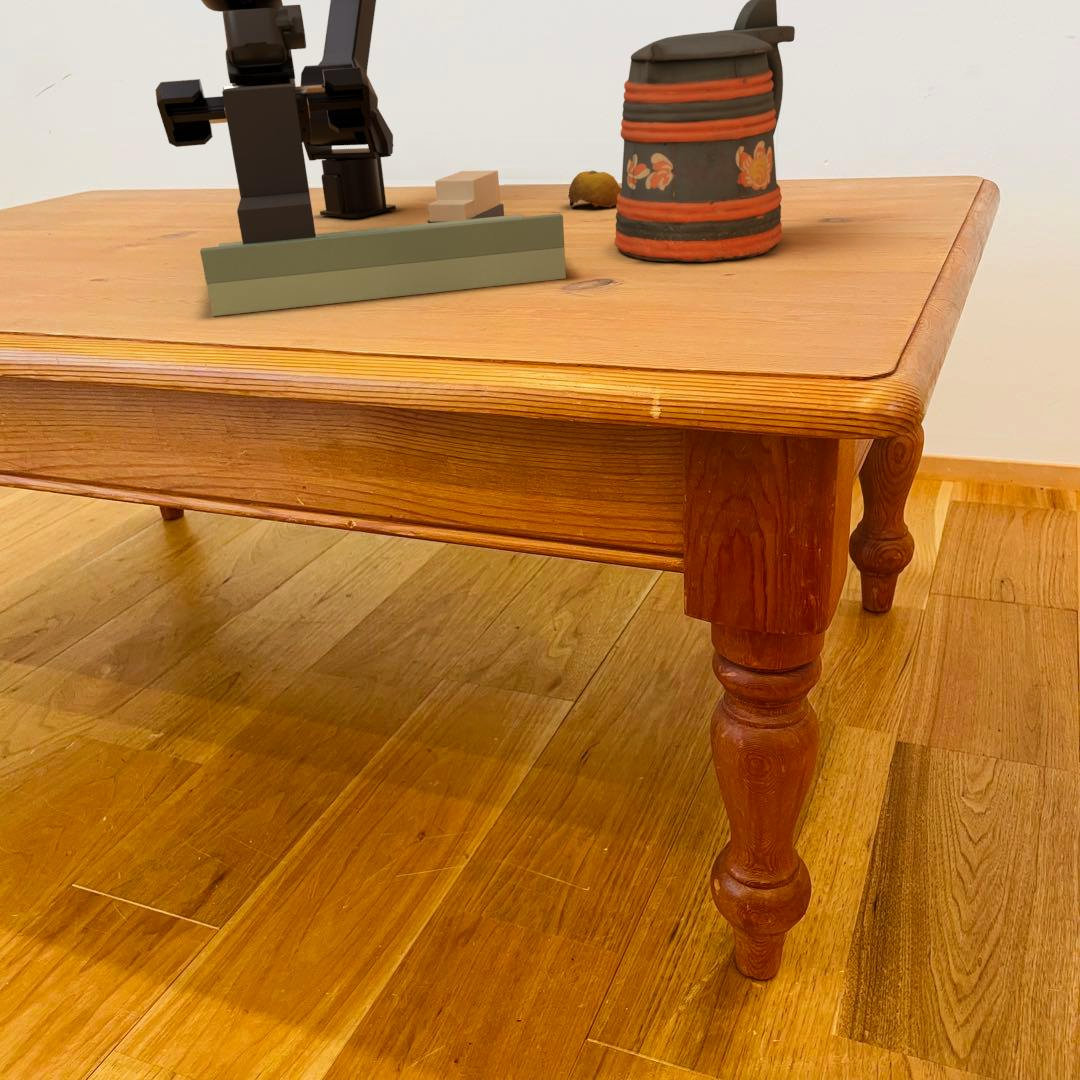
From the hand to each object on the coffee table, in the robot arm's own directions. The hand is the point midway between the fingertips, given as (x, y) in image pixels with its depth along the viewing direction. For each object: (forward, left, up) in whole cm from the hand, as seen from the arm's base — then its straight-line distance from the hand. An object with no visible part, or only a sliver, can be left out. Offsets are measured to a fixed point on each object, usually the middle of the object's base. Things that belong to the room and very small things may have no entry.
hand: (278, 181), depth 96 cm
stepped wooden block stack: (-21, +3, -7) cm, 23 cm away
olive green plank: (-1, +12, -7) cm, 14 cm away
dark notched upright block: (+7, +8, -5) cm, 12 cm away
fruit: (-38, +9, -8) cm, 40 cm away
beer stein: (-23, +31, -8) cm, 39 cm away
